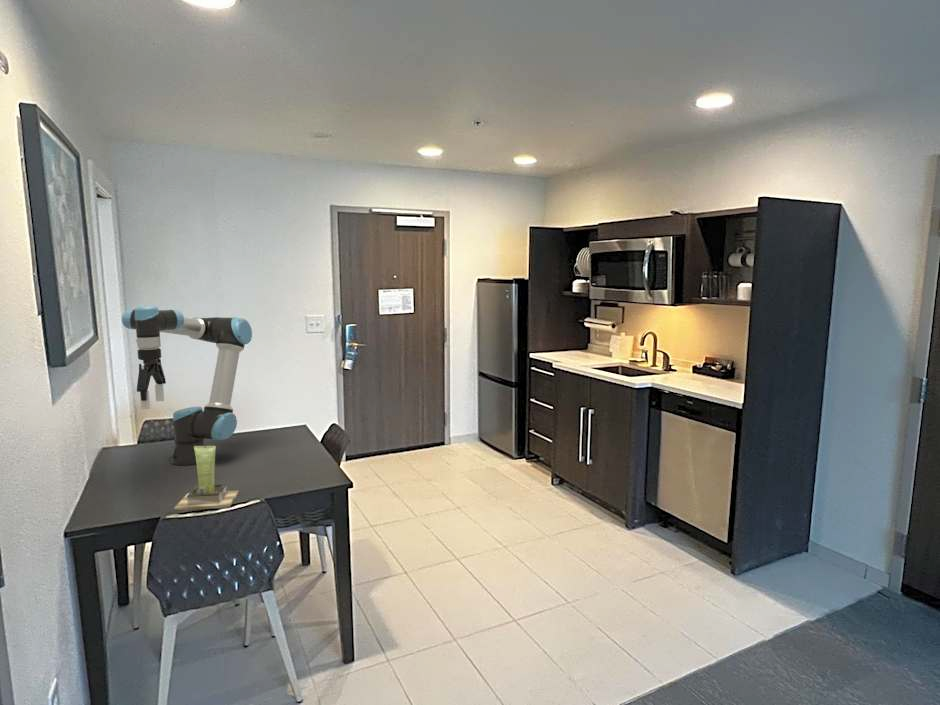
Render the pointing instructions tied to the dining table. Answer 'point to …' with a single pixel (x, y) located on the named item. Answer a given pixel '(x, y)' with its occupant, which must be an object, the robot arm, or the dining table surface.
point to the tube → (205, 468)
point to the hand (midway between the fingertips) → (153, 405)
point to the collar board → (208, 499)
